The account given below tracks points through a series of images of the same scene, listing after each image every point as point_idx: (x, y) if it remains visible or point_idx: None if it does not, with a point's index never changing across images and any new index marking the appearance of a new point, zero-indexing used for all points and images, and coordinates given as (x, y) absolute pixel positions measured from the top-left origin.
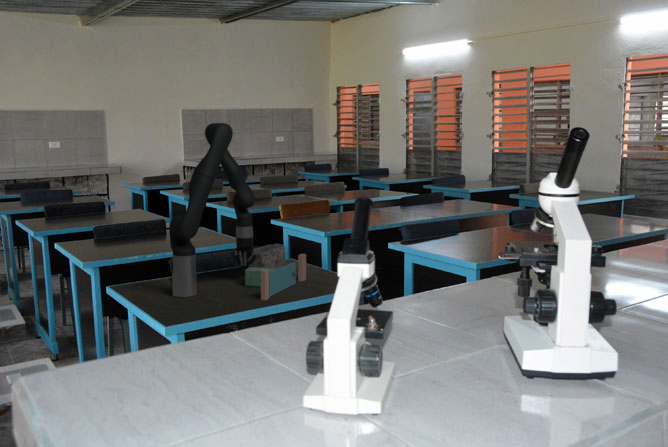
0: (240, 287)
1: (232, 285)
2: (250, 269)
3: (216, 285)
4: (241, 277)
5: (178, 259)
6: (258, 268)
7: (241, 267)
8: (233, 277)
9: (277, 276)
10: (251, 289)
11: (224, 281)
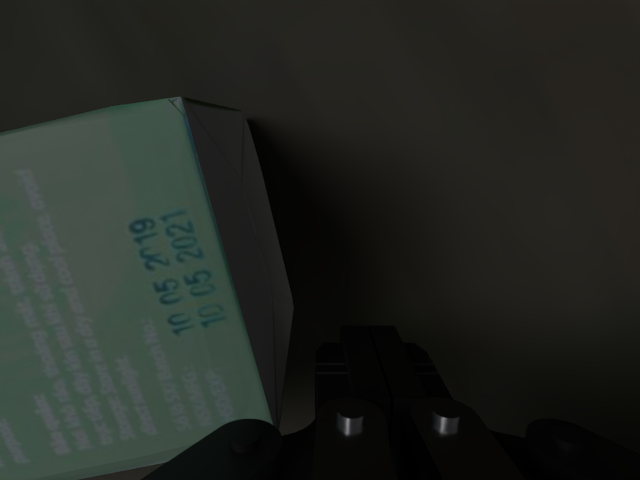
0: (275, 48)
1: (425, 103)
2: (100, 222)
3: (627, 17)
4: None
5: None
6: (8, 389)
7: (447, 390)
8: None
9: None
10: (80, 7)
11: (606, 242)
